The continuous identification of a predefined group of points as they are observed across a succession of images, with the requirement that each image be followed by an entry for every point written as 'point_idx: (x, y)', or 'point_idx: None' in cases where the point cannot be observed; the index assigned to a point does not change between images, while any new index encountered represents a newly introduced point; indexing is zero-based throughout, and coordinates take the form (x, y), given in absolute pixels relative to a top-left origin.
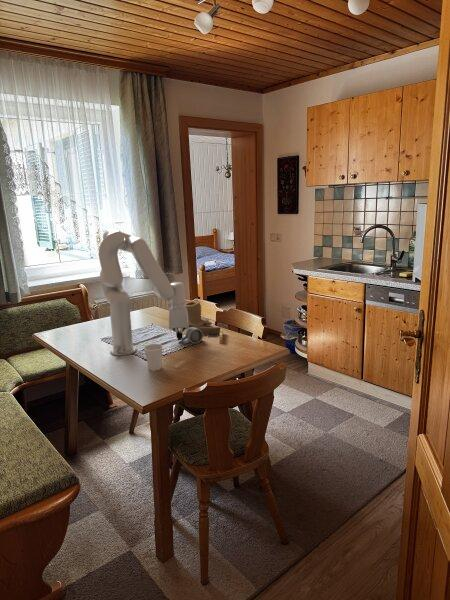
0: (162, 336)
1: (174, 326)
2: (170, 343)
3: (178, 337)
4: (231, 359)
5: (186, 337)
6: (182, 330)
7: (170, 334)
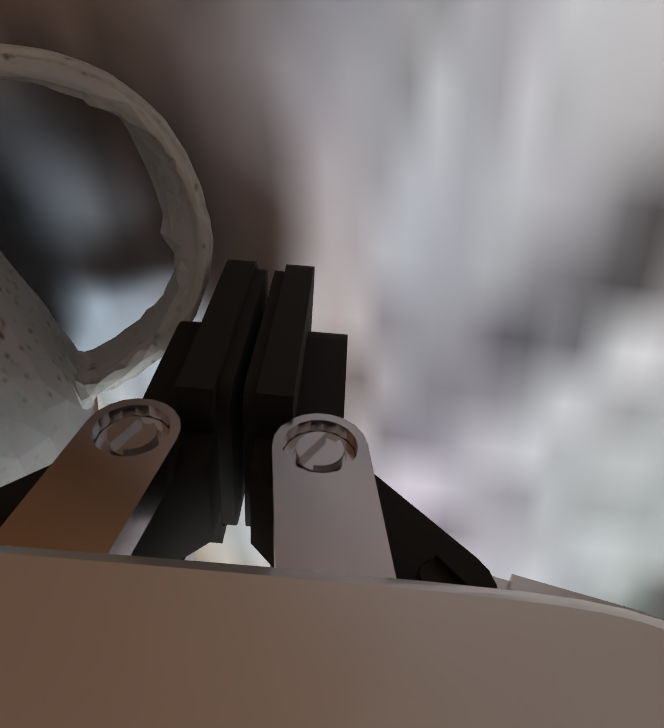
0: (623, 587)
1: (425, 673)
2: (523, 185)
3: (282, 301)
4: None
5: (81, 361)
6: (49, 472)
7: None
